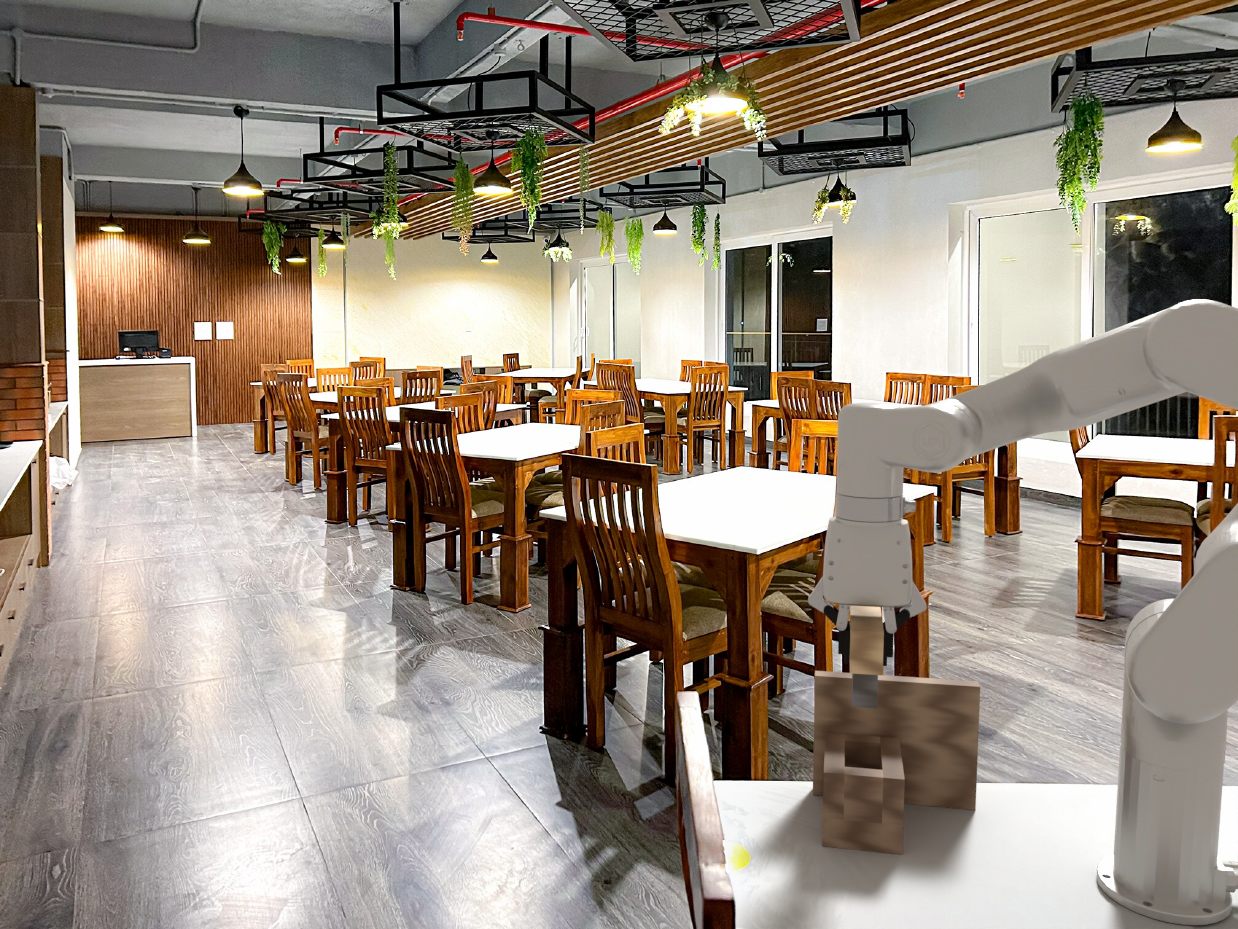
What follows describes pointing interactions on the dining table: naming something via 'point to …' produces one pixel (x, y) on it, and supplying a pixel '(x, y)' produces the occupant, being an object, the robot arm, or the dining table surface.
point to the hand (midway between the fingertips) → (865, 659)
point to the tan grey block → (866, 654)
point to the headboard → (891, 755)
